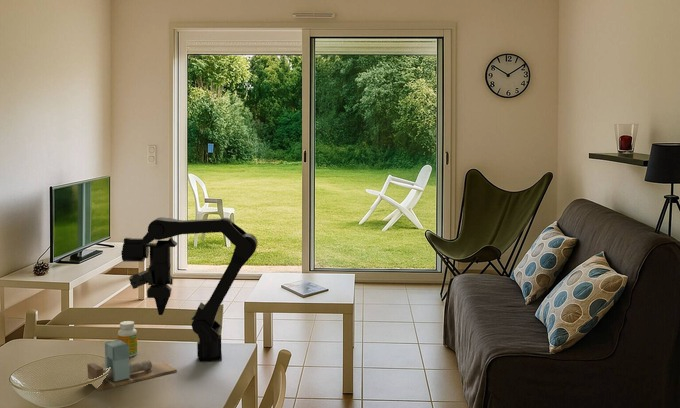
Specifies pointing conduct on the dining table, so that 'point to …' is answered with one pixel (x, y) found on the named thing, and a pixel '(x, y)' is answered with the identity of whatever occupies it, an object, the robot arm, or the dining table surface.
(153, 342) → the dining table surface
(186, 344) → the dining table surface
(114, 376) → the light blue upright block
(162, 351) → the dining table surface
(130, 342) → the supplement bottle
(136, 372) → the pipe rig
